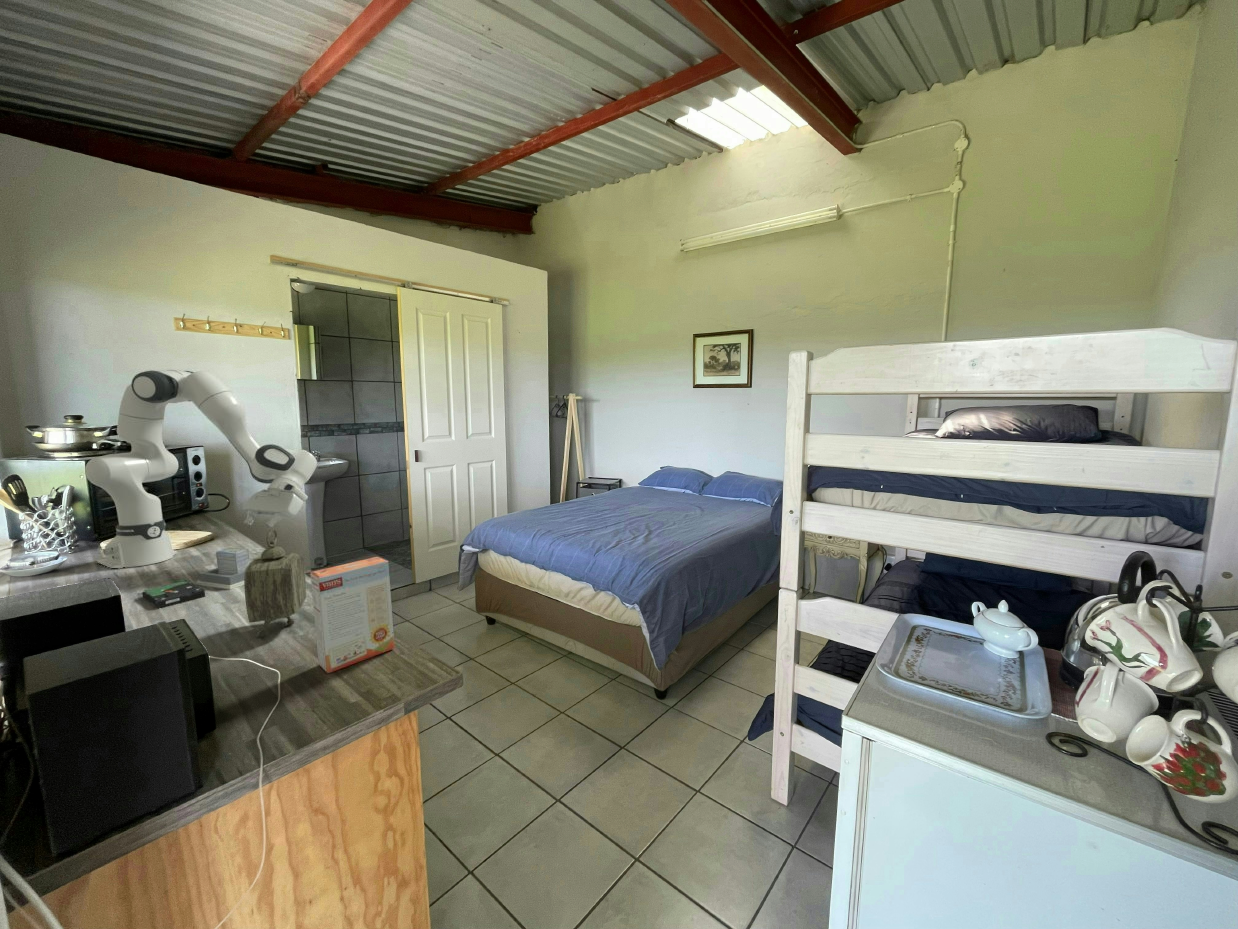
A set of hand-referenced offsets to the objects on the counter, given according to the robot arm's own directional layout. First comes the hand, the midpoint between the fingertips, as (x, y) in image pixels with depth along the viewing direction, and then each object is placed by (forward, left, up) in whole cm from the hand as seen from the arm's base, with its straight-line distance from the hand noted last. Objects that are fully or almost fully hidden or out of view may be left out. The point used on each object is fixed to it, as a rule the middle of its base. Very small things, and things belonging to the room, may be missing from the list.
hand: (257, 524), depth 160 cm
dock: (0, -8, -16) cm, 18 cm away
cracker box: (+75, -37, -16) cm, 85 cm away
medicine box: (0, -9, -15) cm, 17 cm away
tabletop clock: (+45, -30, -16) cm, 57 cm away
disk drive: (-3, -24, -16) cm, 29 cm away
